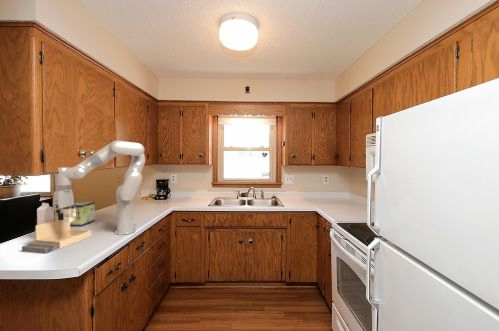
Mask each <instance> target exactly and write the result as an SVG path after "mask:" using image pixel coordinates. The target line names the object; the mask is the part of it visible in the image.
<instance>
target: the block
mask: <svg viewBox="0 0 499 331" xmlns="http://www.w3.org/2000/svg"><path fill="white" fill-rule="evenodd" d="M62 213H63V220H58V213H56V212H55V211H54V221H55V222H68V223H70V222H73V221H76V209H66V207H65V208H63V211H62Z"/></svg>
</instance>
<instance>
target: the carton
mask: <svg viewBox="0 0 499 331" xmlns="http://www.w3.org/2000/svg"><path fill="white" fill-rule="evenodd" d="M91 237H92V230H85V229H84V230H83V229H71V226H70V223H68V222H55V220H54V221H52V222H48V223H44V224H40V225H37V224H36V225H35V240H36V243H47V244H57V250H58V249H59V250H60V249H62V248H64V247H67V246H70V245H73V244H75V243H77V242H81V241H83V240H85V239H88V238H91Z"/></svg>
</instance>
